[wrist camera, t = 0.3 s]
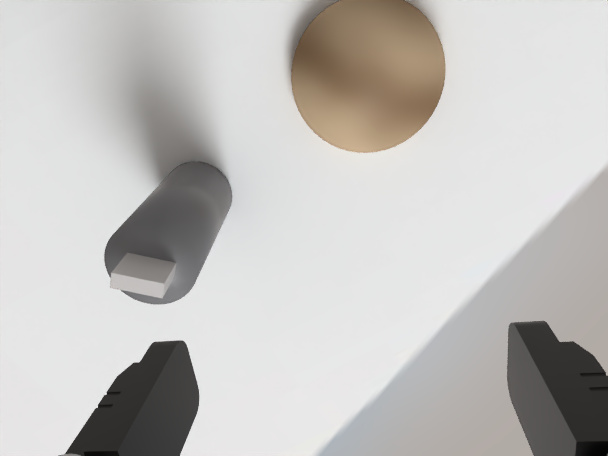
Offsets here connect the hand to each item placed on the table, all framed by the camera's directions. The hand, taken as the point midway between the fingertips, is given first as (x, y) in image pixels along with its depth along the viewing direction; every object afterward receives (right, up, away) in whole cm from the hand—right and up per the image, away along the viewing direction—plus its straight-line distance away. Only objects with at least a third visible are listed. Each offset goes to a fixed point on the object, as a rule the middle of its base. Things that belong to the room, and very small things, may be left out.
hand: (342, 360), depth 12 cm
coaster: (+3, +13, +17) cm, 22 cm away
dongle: (-8, +6, +21) cm, 23 cm away
